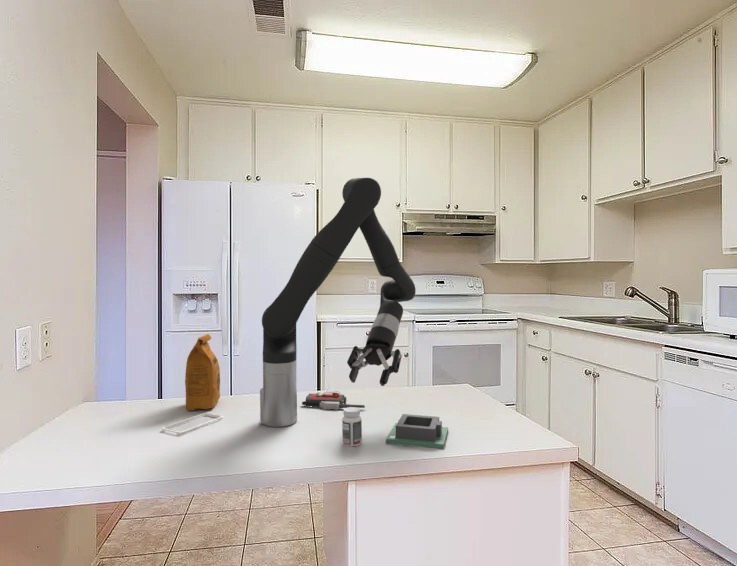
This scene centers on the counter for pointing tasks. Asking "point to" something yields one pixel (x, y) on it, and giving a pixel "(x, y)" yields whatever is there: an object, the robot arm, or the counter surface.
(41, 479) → the counter surface
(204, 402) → the coffee package
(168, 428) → the phone case
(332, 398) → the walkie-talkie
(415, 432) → the socket board
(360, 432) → the pill bottle
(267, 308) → the robot arm
